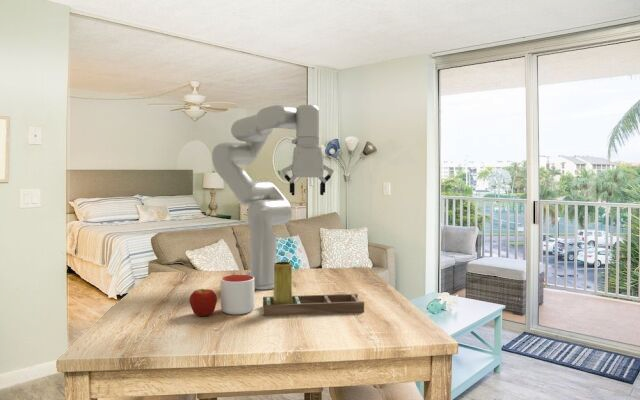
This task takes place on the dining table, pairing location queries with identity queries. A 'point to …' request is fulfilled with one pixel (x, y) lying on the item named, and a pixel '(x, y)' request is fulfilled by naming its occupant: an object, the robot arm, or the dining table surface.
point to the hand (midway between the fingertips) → (307, 195)
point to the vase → (282, 283)
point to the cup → (237, 294)
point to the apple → (203, 302)
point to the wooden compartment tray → (314, 305)
